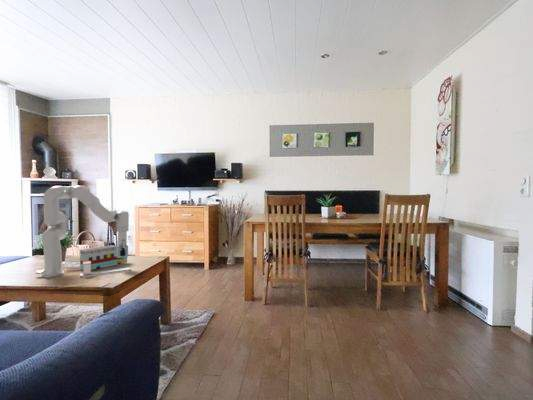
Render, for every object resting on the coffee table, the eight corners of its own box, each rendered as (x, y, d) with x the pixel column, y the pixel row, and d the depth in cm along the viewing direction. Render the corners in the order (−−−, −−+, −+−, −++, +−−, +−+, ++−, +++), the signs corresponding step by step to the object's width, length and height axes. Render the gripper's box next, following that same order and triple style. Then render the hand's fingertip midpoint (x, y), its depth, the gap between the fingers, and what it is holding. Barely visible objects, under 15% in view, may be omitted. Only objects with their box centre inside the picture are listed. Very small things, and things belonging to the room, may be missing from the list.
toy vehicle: (127, 264, 233) (127, 244, 233) (85, 272, 209) (84, 251, 209) (122, 262, 238) (122, 243, 238) (80, 270, 214) (79, 249, 214)
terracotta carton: (83, 276, 196) (82, 264, 196) (83, 274, 202) (82, 262, 202) (91, 275, 199) (91, 263, 199) (90, 273, 204) (90, 261, 204)
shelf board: (80, 279, 193) (80, 276, 193) (79, 275, 203) (79, 272, 203) (131, 272, 209) (131, 269, 209) (128, 268, 219) (128, 266, 218)
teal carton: (128, 257, 212) (128, 245, 212) (117, 258, 208) (117, 246, 208) (127, 256, 216) (127, 244, 215) (116, 256, 212) (116, 245, 212)
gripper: (115, 227, 216) (114, 253, 217) (118, 230, 202) (117, 258, 203) (126, 227, 220) (126, 252, 221) (130, 230, 206) (129, 256, 207)
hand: (122, 254), depth 212 cm, fingers closed on teal carton, 4 cm apart
